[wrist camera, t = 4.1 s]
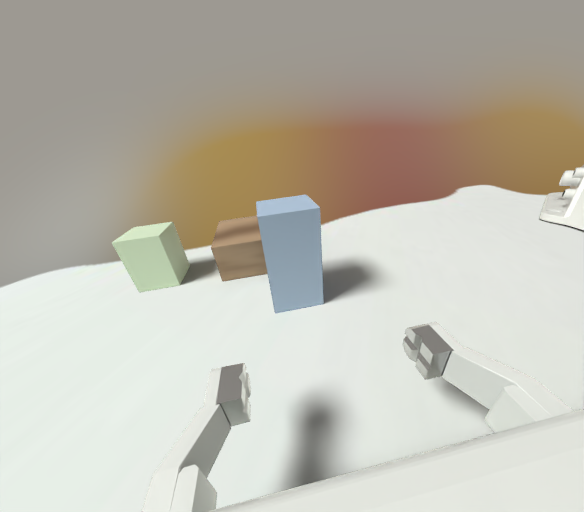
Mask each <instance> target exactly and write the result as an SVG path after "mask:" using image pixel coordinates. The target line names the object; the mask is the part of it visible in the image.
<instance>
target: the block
mask: <svg viewBox="0 0 584 512" xmlns="http://www.w3.org/2000/svg"><path fill="white" fill-rule="evenodd" d="M112 244H113V246H114V248H115V249H116V251H117V253H118V255H119V256H120V258H121V260H122V262H123V264H124V266H125V267H126V269H127V271H128V273H129V275H130V277H131V278H132V280H133V282H134V284H135V286H136V287H137V289H138V291H139V292H145V291H151V290H157V289H162V288H168V287H174V286H180V284H181V283H182V281H183V279H184V277H185V275H186V273H187V271H188V269H189V267H190V265H189V262H188V260H187V257H186V254H185V252H184V249H183V247H182V244H181V242H180V239H179V236H178V234H177V231H176V228H175V226H174V223H173V222H168V223H161V224H154V225H147V226H141V227H134V228H132V229H131V230H129V231H128V232H126V233H125V234H124V235H122V236H121V237H119V238H118V239H117V240H115V241H114V242H112Z"/></svg>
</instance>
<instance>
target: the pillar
mask: <svg viewBox="0 0 584 512" xmlns="http://www.w3.org/2000/svg"><path fill="white" fill-rule="evenodd" d="M256 205H257V218H258V224H259V229H260V235H261V240H262V245H263V251H264V256H265V262H266V267H267V272H268V278H269V283H270V289H271V294H272V299H273V305H274V310H275V313H280V312H285V311H290V310H295V309H301V308H306V307H311V306H316V305H321V304H324V300H323V274H322V249H321V224H320V208H319V206H318V205H316V204H315V203H314V202H313V201H312V200H311V199H310V198H309V197H308V196H307V195H301V196H293V197H287V198H279V199H272V200H265V201H258V202H256Z"/></svg>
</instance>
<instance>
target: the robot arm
mask: <svg viewBox="0 0 584 512" xmlns="http://www.w3.org/2000/svg"><path fill="white" fill-rule="evenodd" d="M559 185H561V186H571V187H570V189H566V190H565V191H564V192H559V193H549V194H548V196H547V197H546V199H545V202H544V205H543V208H542V211H541V214H540V217H539V218H540V219H542V220H545V221H549V222H554V223H559V224H564V225H568V226H572V227H575V228H578V229H581V230H584V165H583V166H582V167H581V168H576V169H575V171H565V172H564V174H563V176H562V178H561V181H560V183H559ZM405 334H406V335H407V336H406V337H405V338H404V339H403V347H404V350H405V352H406V354H407V356H408V357H409V359H411V360H413V361H415V362H416V368H417V369H418V371H419V372H420V373H421V375H422V376H423V377H424V379H425V380H426V379H431V378H436V377H441V376H442V378H444V379H445V380H447V381H448V382H450V383H451V384H453V385H454V386H455V387H457V388H458V389H460V390H461V391H463V392H464V393H466V394H467V395H469V396H470V397H472V398H473V399H475V400H476V401H477V402H479V403H480V404H482V405H483V406H485V407H486V408H488V409H489V412H488V414H487V415H486V417H485V422H486V423H487V424H488V425H489V427H490V428H491V429H492V430H493V431H494V433H493V434H489V435H485V436H482V437H478V438H474V439H471V440H467V441H463V442H460V443H456V444H453V445H449V446H445V447H442V448H438V449H434V450H431V451H427V452H423V453H420V454H416V455H412V456H409V457H405V458H401V459H398V460H394V461H390V462H387V463H383V464H379V465H376V466H372V467H368V468H365V469H361V470H357V471H354V472H350V473H346V474H343V475H339V476H335V477H332V478H328V479H324V480H321V481H317V482H313V483H310V484H306V485H302V486H299V487H295V488H291V489H288V490H284V491H280V492H277V493H273V494H269V495H266V496H262V497H258V498H255V499H251V500H247V501H244V502H240V503H236V504H233V505H229V506H225V507H222V508H218V509H216V499H217V492H216V490H215V489H214V488H213V486H212V485H211V484H210V482H209V481H208V480H207V477H208V475H209V473H210V471H211V469H212V466H213V464H214V462H215V460H216V458H217V456H218V454H219V452H220V450H221V448H222V446H223V444H224V442H225V440H226V438H227V436H228V434H229V431H230V429H231V426H235V425H239V424H243V423H246V422H250V402H249V399H248V398H249V397H250V395H251V387H250V379H249V375H248V373H247V372H246V366H245V363H242V364H236V365H231V366H226V367H220V368H216V369H211V371H210V373H209V379H208V384H207V389H206V394H205V400H204V405H203V408H200V409H199V410H198V411H197V413H196V414H195V416H194V417H193V418H192V420H191V421H190V423H189V424H188V425H187V427H186V428H185V430H184V431H183V432H182V434H181V435H180V437H179V438H178V439H177V441H176V442H175V444H174V445H173V446H172V448H171V449H170V451H169V452H168V453H167V455H166V456H165V458H164V459H163V460H162V462H161V463H160V465H159V466H158V467H157V469H156V470H155V472H154V473H153V475H152V479H151V482H150V485H149V488H148V492H147V495H146V498H145V502H144V505H143V508H142V511H141V512H584V409H581V410H577V411H574V410H573V409H571V408H570V407H569V406H568V405H567V404H565V403H564V402H563V401H562V400H561V399H559V398H558V397H557V396H556V395H555V394H553V393H552V392H551V391H550V390H549V389H547V388H546V387H545V386H544V385H543V384H541V383H540V382H539V381H538V380H536V379H535V378H533V377H531V376H529V375H527V374H525V373H522V372H520V371H518V370H516V369H514V368H511V367H509V366H507V365H505V364H503V363H500V362H498V361H496V360H494V359H492V358H490V357H487V356H485V355H483V354H481V353H479V352H476V351H474V350H472V349H470V348H464V347H463V346H462V345H461V344H460V343H459V342H458V341H457V340H456V339H455V338H454V337H453V336H452V335H451V334H450V333H448V332H447V331H446V330H445V329H444V328H443V327H442V326H441V325H440V324H439V323H437V322H433V323H428V324H422V325H418V326H414V327H409V328H407V329H406V330H405Z"/></svg>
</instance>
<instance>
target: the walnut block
mask: <svg viewBox="0 0 584 512" xmlns="http://www.w3.org/2000/svg"><path fill="white" fill-rule="evenodd" d="M211 249H212V252H213V255H214V258H215V261H216V264H217V267H218V270H219V273H220V276H221V278H222V281H228V280H234V279H240V278H245V277H251V276H257V275H263V274H268V272H267V267H266V262H265V256H264V251H263V245H262V240H261V235H260V229H259V224H258V218H257V216H251V217H244V218H237V219H231V220H224V221H219V224H218V227H217V230H216V233H215V237H214V240H213V243H212V247H211Z"/></svg>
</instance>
